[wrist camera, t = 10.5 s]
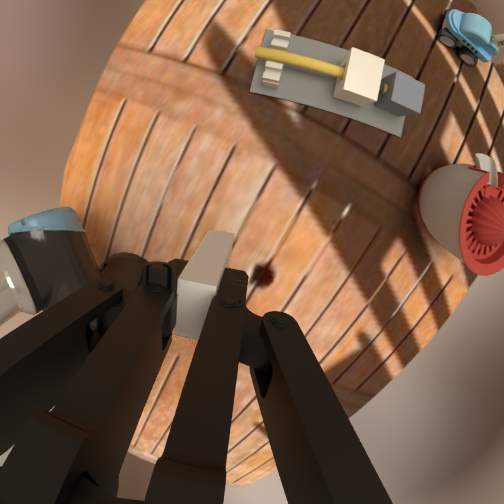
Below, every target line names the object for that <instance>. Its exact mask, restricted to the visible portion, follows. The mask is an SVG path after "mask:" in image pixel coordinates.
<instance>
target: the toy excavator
mask: <svg viewBox="0 0 504 504" xmlns="http://www.w3.org/2000/svg"><path fill="white" fill-rule="evenodd" d="M443 19H444V22H443V26H442V29H440V31H439V34H438V39H439V41H440V42H442V43H444V44H445V45H447V46H448V47H451V48H455V47H457V46H459V47H460V51H459V57H460V58H462V61H463V62H465V63H466V64H468V65H473V66H474V65H476V64H477V61H478V58H479V59H480V60H481V61H482V62H484V63H485V62H489V61H491V56H492V55H496V54H497V53H498V49H501V48H504V34H499V35H493V34H491V28H492V27H491V24H490V23H489V22H488V21H487V20H486V19H485V18H483V17H482V16H480V15H477V14H474V13H463V12H460V11H458V10H452V9H447V10H446V11H444V15H443Z"/></svg>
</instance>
